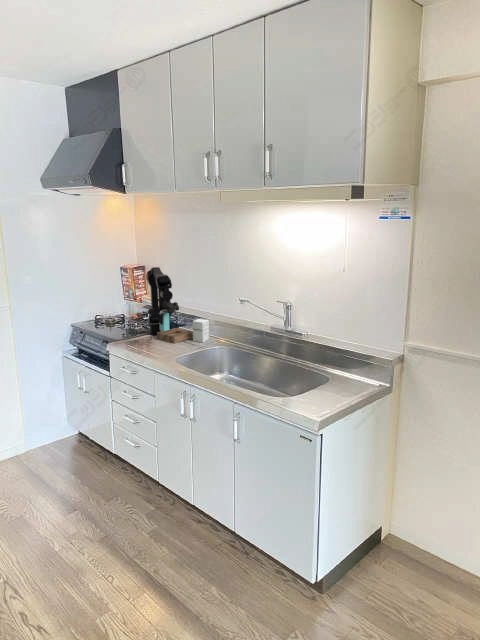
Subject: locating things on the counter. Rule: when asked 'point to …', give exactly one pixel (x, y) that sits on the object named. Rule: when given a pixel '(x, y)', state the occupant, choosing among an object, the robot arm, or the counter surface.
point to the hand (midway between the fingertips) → (164, 323)
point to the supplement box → (200, 330)
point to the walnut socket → (175, 335)
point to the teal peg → (165, 322)
